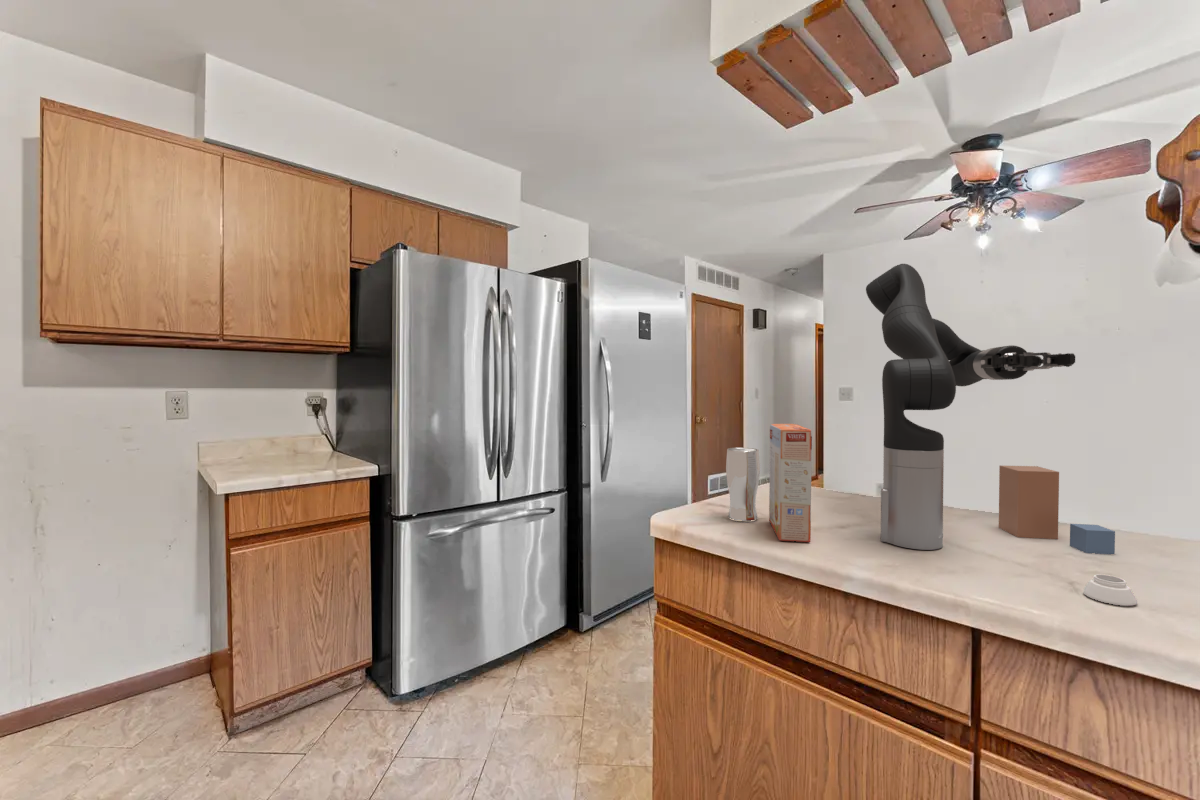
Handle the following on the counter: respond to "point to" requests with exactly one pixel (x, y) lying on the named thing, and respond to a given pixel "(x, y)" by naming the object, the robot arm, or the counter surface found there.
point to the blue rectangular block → (1092, 539)
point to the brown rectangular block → (1029, 501)
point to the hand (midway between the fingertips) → (1047, 359)
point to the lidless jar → (1110, 590)
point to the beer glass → (742, 482)
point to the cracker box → (790, 482)
